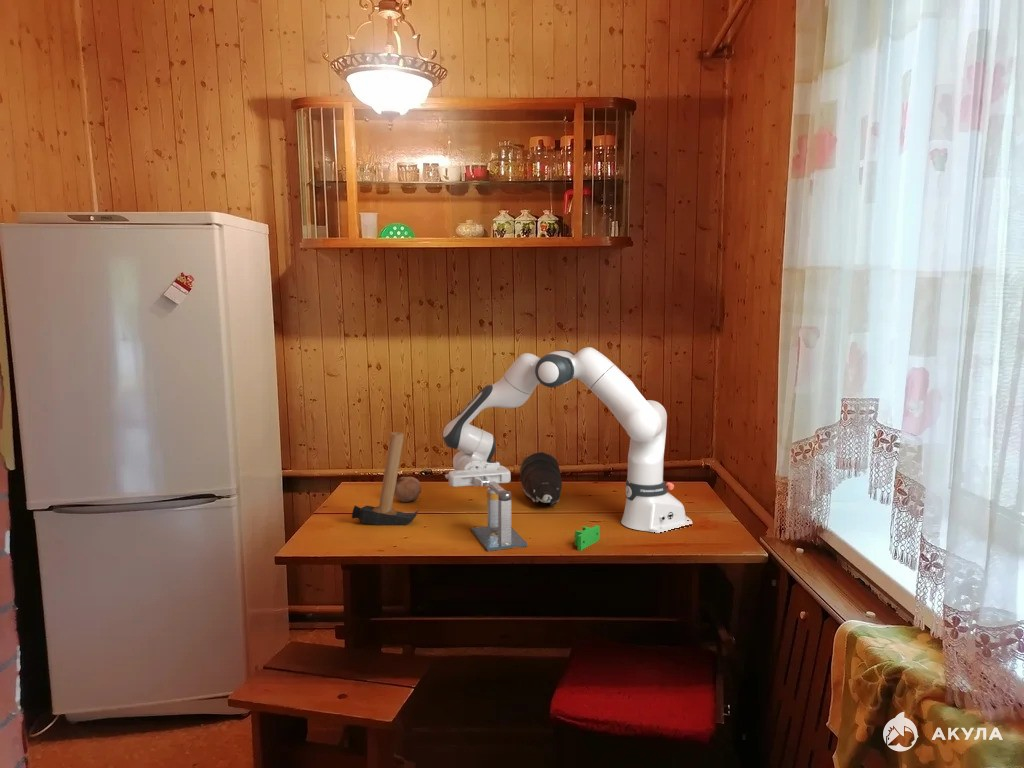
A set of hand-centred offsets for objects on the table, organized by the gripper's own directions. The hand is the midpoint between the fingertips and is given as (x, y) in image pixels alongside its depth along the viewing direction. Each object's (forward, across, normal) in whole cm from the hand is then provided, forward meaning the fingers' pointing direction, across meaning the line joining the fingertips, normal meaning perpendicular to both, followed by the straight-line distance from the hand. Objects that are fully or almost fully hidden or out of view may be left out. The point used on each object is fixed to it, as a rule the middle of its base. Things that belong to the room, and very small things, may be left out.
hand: (485, 483), depth 221 cm
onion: (-33, -19, +14) cm, 41 cm away
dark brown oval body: (-18, +26, +14) cm, 35 cm away
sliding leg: (+8, 0, +12) cm, 14 cm away
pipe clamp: (+25, +23, +14) cm, 37 cm away
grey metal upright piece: (+13, 0, +12) cm, 18 cm away
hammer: (-12, -30, +14) cm, 35 cm away
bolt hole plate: (+13, 0, +14) cm, 18 cm away
